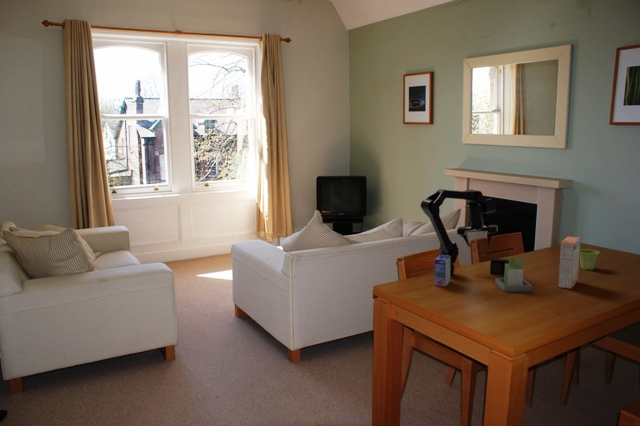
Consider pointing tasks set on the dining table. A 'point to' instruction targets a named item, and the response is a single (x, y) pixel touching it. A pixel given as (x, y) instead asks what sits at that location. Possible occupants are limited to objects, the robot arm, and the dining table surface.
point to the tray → (513, 286)
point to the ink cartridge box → (442, 270)
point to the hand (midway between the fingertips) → (478, 246)
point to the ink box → (514, 272)
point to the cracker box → (569, 262)
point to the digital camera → (498, 266)
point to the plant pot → (588, 258)
